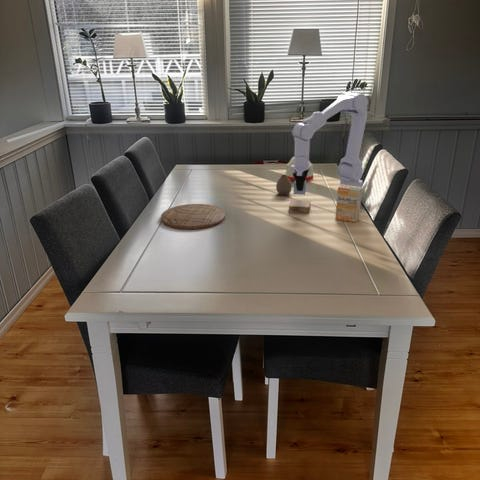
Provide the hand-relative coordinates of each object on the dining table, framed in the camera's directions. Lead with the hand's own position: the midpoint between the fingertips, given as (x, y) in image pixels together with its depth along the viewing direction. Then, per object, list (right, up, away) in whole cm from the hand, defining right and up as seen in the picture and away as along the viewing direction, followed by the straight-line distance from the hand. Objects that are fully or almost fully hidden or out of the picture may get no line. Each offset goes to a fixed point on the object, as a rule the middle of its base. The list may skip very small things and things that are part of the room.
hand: (300, 188), depth 180 cm
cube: (0, -2, +1) cm, 2 cm away
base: (0, -9, +4) cm, 9 cm away
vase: (-4, 0, +22) cm, 23 cm away
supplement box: (+17, -13, -7) cm, 23 cm away
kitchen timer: (+6, +11, +48) cm, 49 cm away
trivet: (-43, -12, -3) cm, 44 cm away
